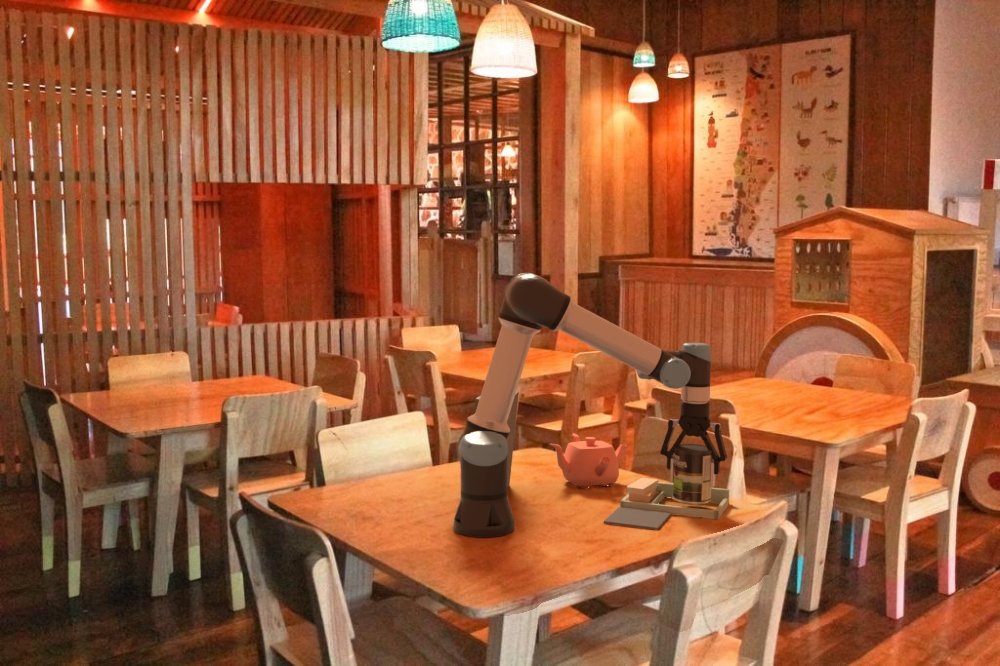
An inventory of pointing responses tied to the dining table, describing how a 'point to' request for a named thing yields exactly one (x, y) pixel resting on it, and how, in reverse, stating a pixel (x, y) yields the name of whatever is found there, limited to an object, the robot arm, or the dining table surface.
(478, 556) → the dining table surface
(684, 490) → the coffee can
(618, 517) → the mat
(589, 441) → the teapot
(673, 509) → the rack
